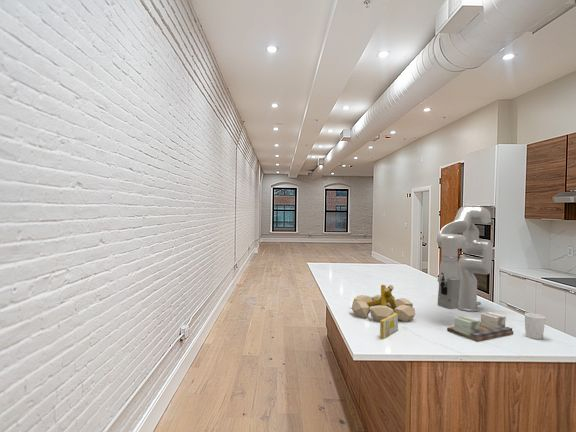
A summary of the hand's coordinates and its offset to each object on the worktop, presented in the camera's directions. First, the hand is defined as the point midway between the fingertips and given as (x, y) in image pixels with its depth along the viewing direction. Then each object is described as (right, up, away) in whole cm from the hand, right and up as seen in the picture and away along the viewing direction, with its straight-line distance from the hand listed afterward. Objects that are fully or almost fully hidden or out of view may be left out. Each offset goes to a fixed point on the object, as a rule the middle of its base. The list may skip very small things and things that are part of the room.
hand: (449, 293), depth 186 cm
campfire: (-31, -15, +15) cm, 37 cm away
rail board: (+9, -16, -13) cm, 23 cm away
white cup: (+32, -17, -18) cm, 40 cm away
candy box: (-36, -15, -19) cm, 44 cm away
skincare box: (0, -7, 0) cm, 7 cm away
